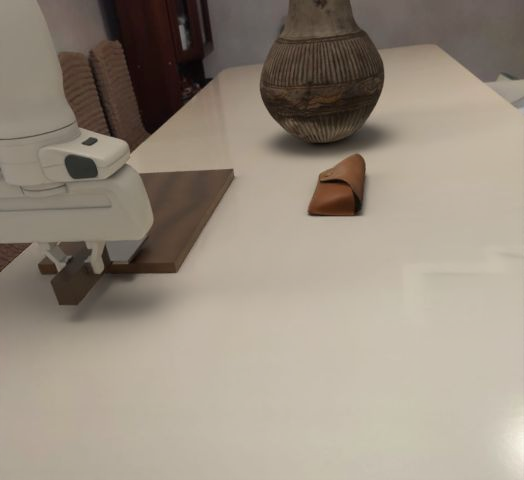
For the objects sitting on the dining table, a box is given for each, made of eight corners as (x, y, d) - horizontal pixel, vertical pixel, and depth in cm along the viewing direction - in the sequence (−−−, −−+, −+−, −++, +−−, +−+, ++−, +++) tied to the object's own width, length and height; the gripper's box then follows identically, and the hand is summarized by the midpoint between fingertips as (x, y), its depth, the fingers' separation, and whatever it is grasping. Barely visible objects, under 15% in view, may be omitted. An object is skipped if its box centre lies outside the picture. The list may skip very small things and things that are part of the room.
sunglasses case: (316, 173, 95) (335, 138, 90) (351, 191, 95) (371, 158, 91) (305, 213, 81) (326, 175, 76) (346, 235, 81) (369, 198, 77)
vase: (286, 125, 125) (275, -31, 108) (391, 124, 117) (398, -45, 99) (248, 159, 107) (227, -21, 90) (370, 160, 99) (373, -38, 81)
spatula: (96, 305, 61) (87, 281, 59) (41, 305, 62) (31, 281, 60) (149, 237, 75) (143, 215, 73) (103, 238, 76) (97, 217, 74)
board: (40, 273, 74) (37, 264, 74) (134, 181, 103) (132, 173, 102) (176, 272, 71) (174, 262, 70) (234, 176, 99) (233, 168, 99)
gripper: (-61, 170, 56) (-8, 285, 64) (119, 160, 52) (151, 284, 60) (-26, 152, 61) (19, 261, 69) (141, 141, 57) (169, 258, 65)
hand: (82, 272), depth 64 cm, fingers closed on spatula, 2 cm apart
